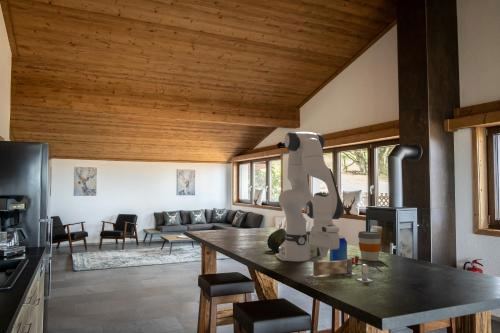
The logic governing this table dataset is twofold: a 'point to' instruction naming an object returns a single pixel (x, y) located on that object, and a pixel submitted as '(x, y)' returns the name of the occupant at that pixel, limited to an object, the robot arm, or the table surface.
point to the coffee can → (313, 248)
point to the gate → (332, 267)
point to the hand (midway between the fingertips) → (324, 257)
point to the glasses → (364, 260)
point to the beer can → (339, 250)
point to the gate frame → (364, 274)
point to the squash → (276, 239)
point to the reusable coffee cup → (369, 245)
